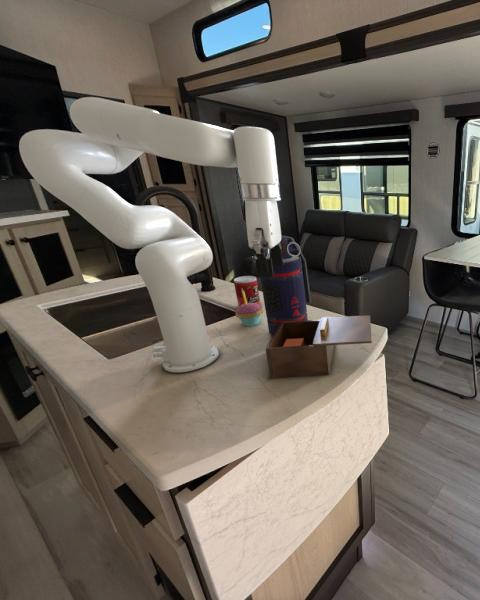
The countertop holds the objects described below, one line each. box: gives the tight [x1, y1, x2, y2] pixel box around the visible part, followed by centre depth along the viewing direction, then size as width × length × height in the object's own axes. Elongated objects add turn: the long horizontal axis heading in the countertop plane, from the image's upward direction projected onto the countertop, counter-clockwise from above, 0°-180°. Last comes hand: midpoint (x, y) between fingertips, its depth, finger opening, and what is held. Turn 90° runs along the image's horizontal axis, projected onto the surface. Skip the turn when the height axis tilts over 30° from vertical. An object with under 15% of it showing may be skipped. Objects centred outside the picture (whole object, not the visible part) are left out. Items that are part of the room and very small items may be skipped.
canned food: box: [233, 275, 261, 307], centre depth 120 cm, size 8×8×11 cm
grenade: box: [259, 235, 312, 337], centre depth 96 cm, size 14×12×30 cm
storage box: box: [265, 319, 335, 379], centre depth 84 cm, size 14×16×8 cm
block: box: [283, 338, 305, 347], centre depth 84 cm, size 4×4×4 cm
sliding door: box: [312, 314, 373, 346], centre depth 83 cm, size 14×16×2 cm
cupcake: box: [235, 289, 264, 327], centre depth 105 cm, size 9×8×12 cm
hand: (271, 271), depth 73 cm, fingers open, 9 cm apart
